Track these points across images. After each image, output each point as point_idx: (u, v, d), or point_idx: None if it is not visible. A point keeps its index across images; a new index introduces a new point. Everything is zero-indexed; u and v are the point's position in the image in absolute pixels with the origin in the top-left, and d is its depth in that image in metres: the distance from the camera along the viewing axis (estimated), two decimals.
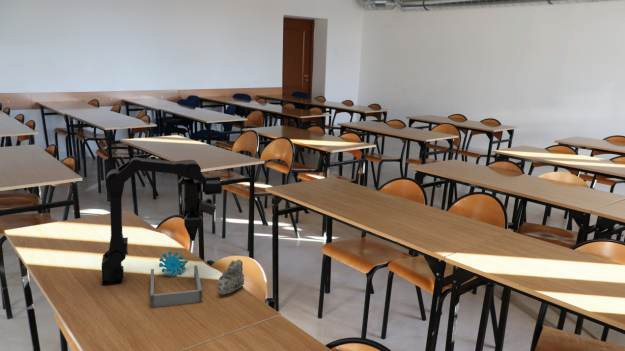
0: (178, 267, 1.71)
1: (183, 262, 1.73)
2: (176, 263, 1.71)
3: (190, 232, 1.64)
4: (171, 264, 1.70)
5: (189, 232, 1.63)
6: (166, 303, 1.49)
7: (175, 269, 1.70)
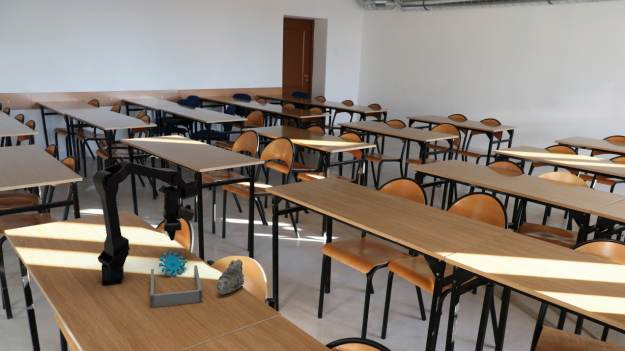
0: (178, 267, 1.71)
1: (183, 262, 1.73)
2: (176, 263, 1.72)
3: (169, 232, 1.78)
4: (171, 264, 1.70)
5: (168, 232, 1.78)
6: (166, 303, 1.49)
7: (175, 269, 1.70)
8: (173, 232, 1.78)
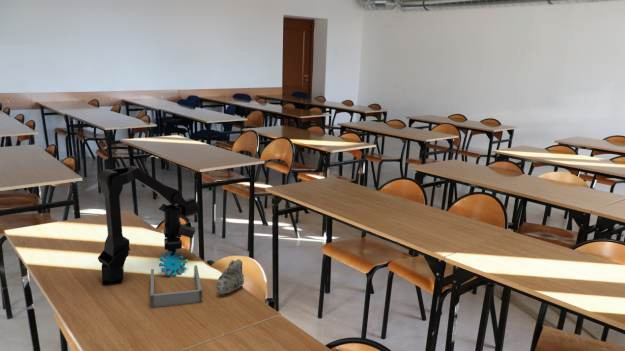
0: (178, 267, 1.71)
1: (183, 262, 1.73)
2: (176, 263, 1.72)
3: (170, 250, 1.79)
4: (171, 264, 1.70)
5: (169, 250, 1.79)
6: (166, 303, 1.49)
7: (175, 269, 1.70)
8: (174, 250, 1.79)
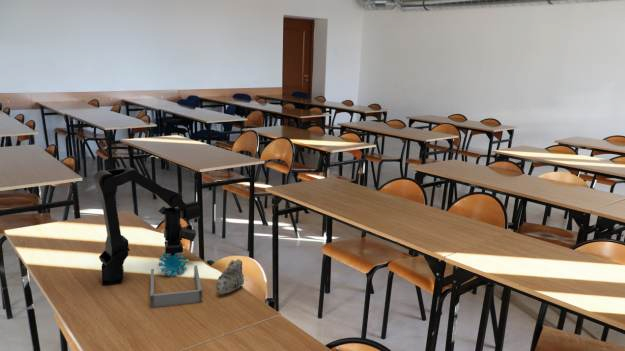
0: (178, 267, 1.71)
1: (183, 262, 1.73)
2: (176, 263, 1.71)
3: (170, 253, 1.76)
4: (171, 264, 1.70)
5: None
6: (166, 303, 1.49)
7: (175, 269, 1.70)
8: (174, 253, 1.76)
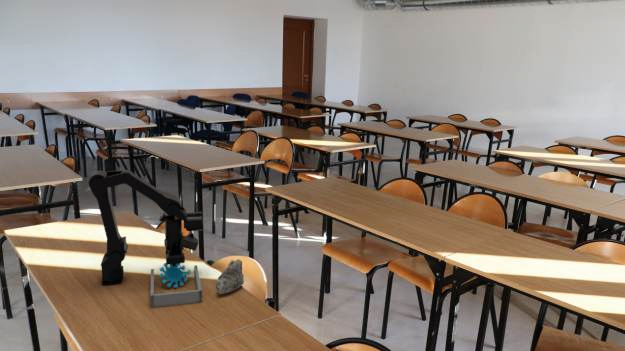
0: (180, 278, 1.62)
1: (185, 273, 1.65)
2: (177, 274, 1.63)
3: (172, 264, 1.67)
4: (172, 275, 1.62)
5: None
6: (166, 303, 1.49)
7: (176, 280, 1.61)
8: (175, 263, 1.68)
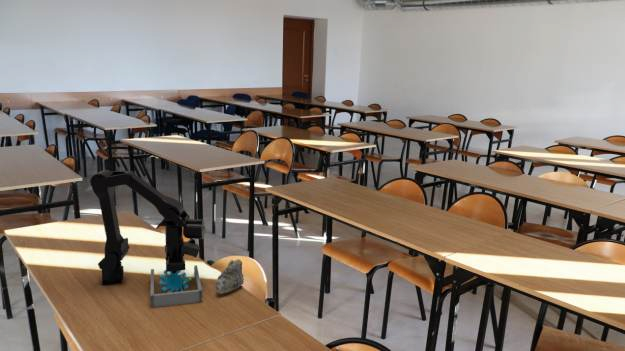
0: (180, 286, 1.57)
1: (186, 280, 1.59)
2: (178, 281, 1.58)
3: (172, 270, 1.62)
4: (172, 282, 1.56)
5: (170, 271, 1.62)
6: (166, 303, 1.49)
7: (176, 288, 1.56)
8: None
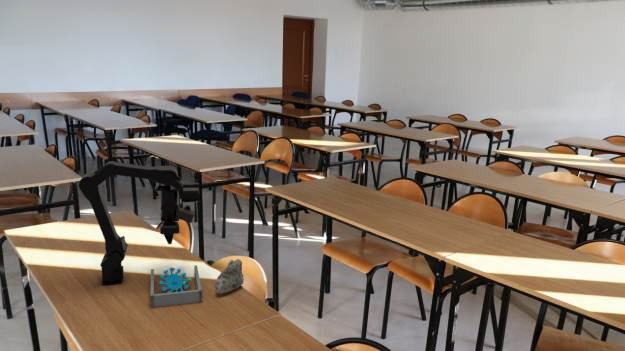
0: (180, 286, 1.57)
1: (186, 280, 1.59)
2: (178, 281, 1.58)
3: (167, 235, 1.63)
4: (172, 282, 1.56)
5: (165, 235, 1.63)
6: (166, 303, 1.49)
7: (176, 288, 1.56)
8: (171, 235, 1.64)
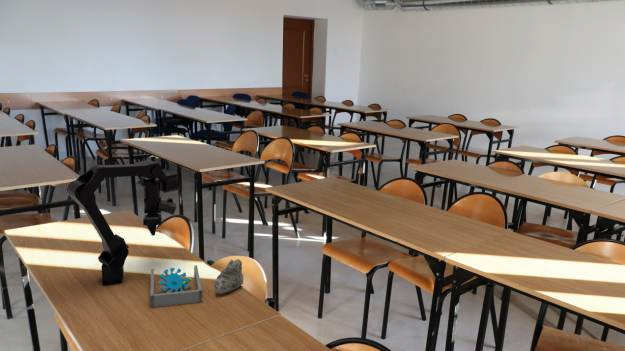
0: (180, 286, 1.57)
1: (186, 280, 1.59)
2: (178, 281, 1.58)
3: (150, 227, 1.70)
4: (172, 282, 1.57)
5: (148, 227, 1.70)
6: (166, 303, 1.49)
7: (176, 288, 1.56)
8: (154, 227, 1.70)
